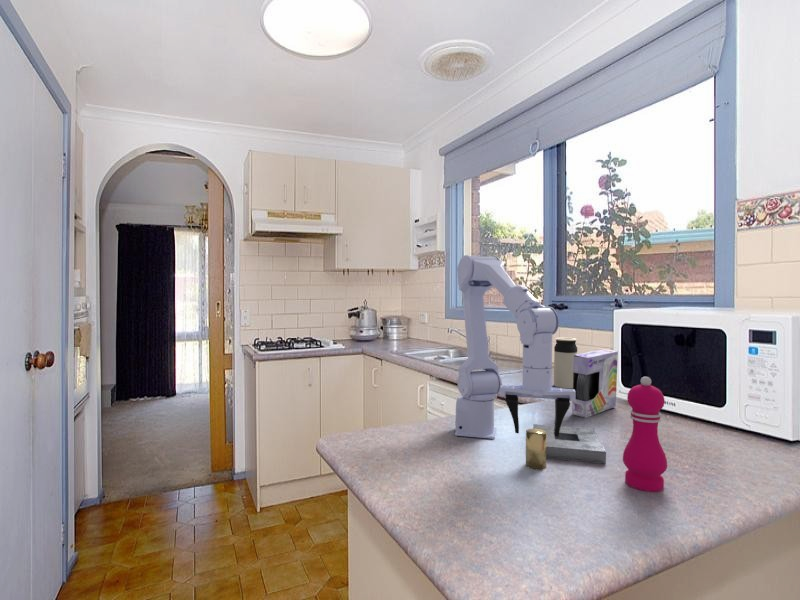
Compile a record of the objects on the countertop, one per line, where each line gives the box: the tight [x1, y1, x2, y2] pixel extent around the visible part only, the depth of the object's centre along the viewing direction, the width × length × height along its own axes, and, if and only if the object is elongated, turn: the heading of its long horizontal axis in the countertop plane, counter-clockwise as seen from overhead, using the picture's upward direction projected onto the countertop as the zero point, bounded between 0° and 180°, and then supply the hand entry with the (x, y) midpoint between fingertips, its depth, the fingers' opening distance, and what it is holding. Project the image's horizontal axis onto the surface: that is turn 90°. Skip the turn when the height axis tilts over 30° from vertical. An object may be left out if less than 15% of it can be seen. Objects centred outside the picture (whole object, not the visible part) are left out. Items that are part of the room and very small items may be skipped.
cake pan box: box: [571, 348, 619, 419], centre depth 134 cm, size 19×5×18 cm, turn 129°
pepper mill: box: [622, 376, 668, 492], centre depth 84 cm, size 7×7×20 cm
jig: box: [532, 423, 607, 465], centre depth 103 cm, size 14×16×2 cm
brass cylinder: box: [525, 428, 547, 471], centre depth 93 cm, size 4×4×7 cm
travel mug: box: [553, 336, 578, 389], centre depth 168 cm, size 8×8×18 cm
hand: (536, 433), depth 92 cm, fingers open, 7 cm apart
